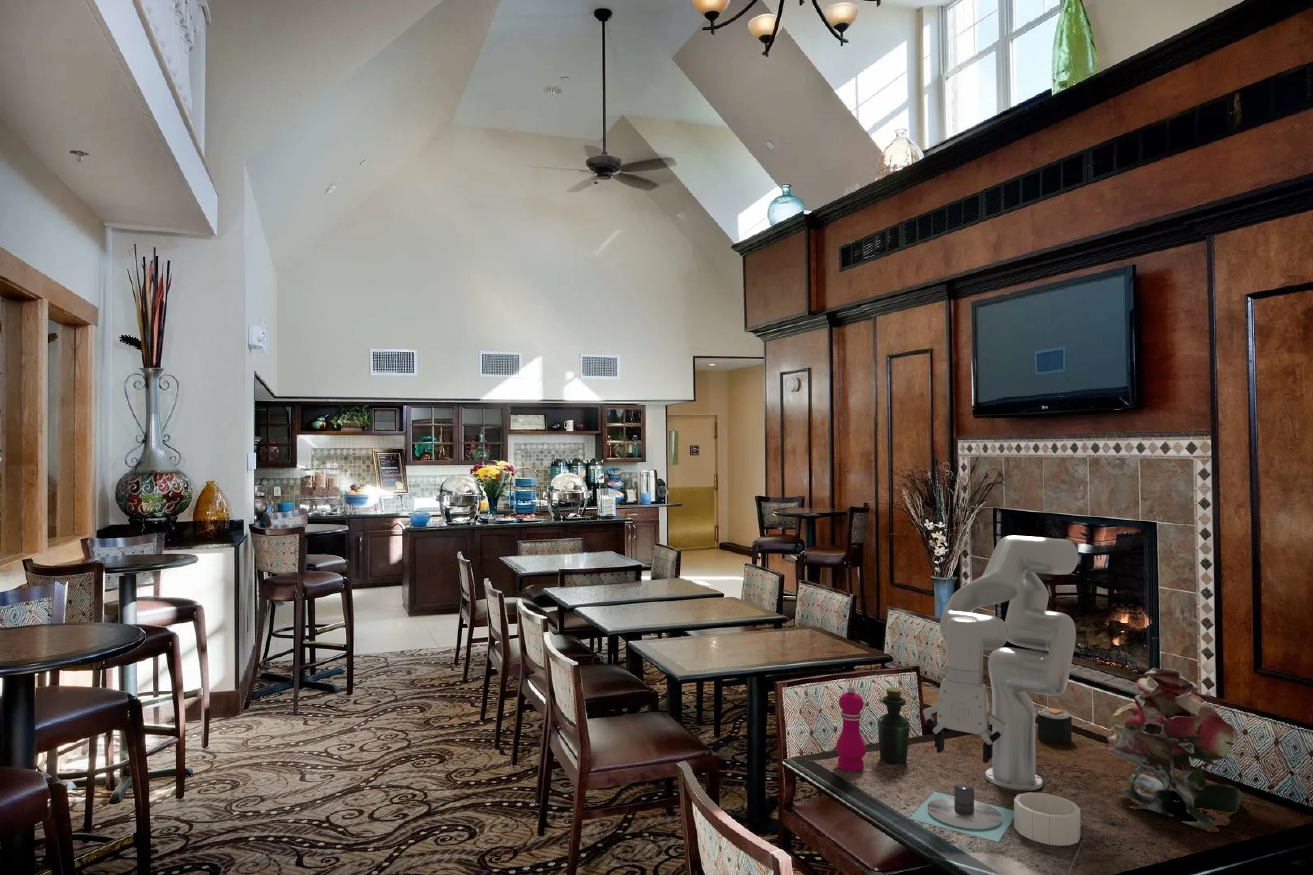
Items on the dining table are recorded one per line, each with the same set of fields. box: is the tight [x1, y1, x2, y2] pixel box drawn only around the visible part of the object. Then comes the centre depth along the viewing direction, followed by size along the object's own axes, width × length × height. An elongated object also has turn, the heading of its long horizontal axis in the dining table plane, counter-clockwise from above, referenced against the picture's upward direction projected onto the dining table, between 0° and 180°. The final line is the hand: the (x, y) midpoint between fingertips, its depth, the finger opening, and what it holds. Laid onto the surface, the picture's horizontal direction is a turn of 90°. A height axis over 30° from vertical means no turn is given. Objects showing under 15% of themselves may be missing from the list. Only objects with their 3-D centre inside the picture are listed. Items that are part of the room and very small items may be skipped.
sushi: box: [1036, 707, 1073, 745], centre depth 231 cm, size 8×8×8 cm
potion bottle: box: [876, 687, 911, 766], centre depth 213 cm, size 8×8×18 cm
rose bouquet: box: [1104, 667, 1243, 830], centre depth 190 cm, size 26×29×30 cm
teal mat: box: [908, 791, 1014, 843], centre depth 179 cm, size 18×18×1 cm
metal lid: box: [928, 783, 1002, 830], centre depth 179 cm, size 15×15×6 cm
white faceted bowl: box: [1013, 791, 1081, 847], centre depth 171 cm, size 12×12×6 cm
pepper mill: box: [835, 685, 867, 772], centre depth 208 cm, size 7×7×20 cm
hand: (963, 756), depth 179 cm, fingers open, 9 cm apart
